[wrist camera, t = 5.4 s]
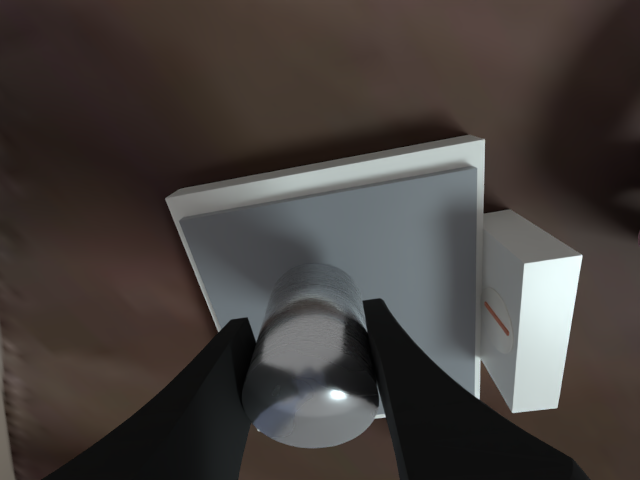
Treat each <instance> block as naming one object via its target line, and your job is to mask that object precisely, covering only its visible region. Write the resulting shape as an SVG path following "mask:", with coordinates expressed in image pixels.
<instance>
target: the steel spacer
mask: <svg viewBox="0 0 640 480" xmlns="http://www.w3.org/2000/svg"><path fill="white" fill-rule="evenodd" d="M362 301H363V300H362V295H361V291H360V289H359V287H358V285H357V283H356V282H355V281H354V279H353V278H352V277H351V276H350V275H349V274H347V273H346V272H344V271H343V270H341V269H339V268H337V267H335V266H332V265H329V264H324V263H307V264H302V265H299V266H296V267H294V268H292V269H290V270H288V271H287V272H285V273H284V274H283V275H282V276H281V277H280V278H279V279H278V280H277V281H276V283H275V285H274V287H273V289H272V292H271V295H270V298H269V302H268V305H267V308H266V312H265V315H264V319H263V322H262V325H261V329H260V332H259V335H258V339H257V342H256V345H255V349H254V352H253V355H252V359H251V362H250V366H249V369H248V372H247V376H246V379H245V382H244V386H243V390H242V403H243V407H244V410H245V413H246V415H247V416H248V418H249V420H250V421H251V422H252V424H253V425H254V426H255V427H256V428H257V429H259V430H260V431H261V432H262V433H264V434H265V435H267V436H268V437H270V438H272V439H274V440H276V441H278V442H281V443H284V444H287V445H291V446H296V447H302V448H325V447H331V446H335V445H339V444H342V443H345V442H347V441H350V440H352V439H353V438H355V437H357V436H358V435H360V434H361V433H362V432H364V431H365V430H366V429H367V428H368V427H369V426H370V424H371V423H372V422H373V420H374V419H375V416H376V414H377V411H378V407H379V394H378V388H377V382H376V376H375V370H374V364H373V360H372V356H371V351H370V345H369V339H368V333H367V327H366V320H365V314H364V308H363V302H362Z"/></svg>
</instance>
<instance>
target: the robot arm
mask: <svg viewBox="0 0 640 480" xmlns="http://www.w3.org/2000/svg"><path fill="white" fill-rule="evenodd" d="M362 302H363V308H364V314H365V320H366V327H367V333H368V339H369V345H370V351H371V356H372V360H373V364H374V370H375V376H376V382H377V386H378V390H379V394H380V397H381V401H382V405H383V408H384V412H385V416H386V420H387V423H388V427H389V431H390V435H391V438H392V442H393V447H394V451H395V455H396V461H397V466H398V472H399V477H400V480H590V479H589V477H588V476H587V475H586V474H585V473H584V471H583V470H582V469H581V468H580V467H579V465H578V464H577V463H576V462H575V461H574V460H573V459H572V458H571V457H569V456H567V455H565V454H564V453H562V452H560V451H558V450H557V449H555V448H553V447H552V446H550V445H548V444H546V443H545V442H543V441H541V440H539V439H538V438H536V437H534V436H532V435H531V434H529V433H527V432H526V431H524V430H523V429H521V428H519V427H518V426H516V425H515V424H513V423H512V422H510V421H509V420H507V419H506V418H504V417H503V416H501V415H500V414H498V413H497V412H496V411H494V410H493V409H492V408H490V407H489V406H487V405H486V404H485V403H483V402H482V401H481V400H479V399H478V398H476V397H475V396H474V395H472V394H471V393H470V392H468V391H467V390H466V389H465V388H463V387H462V386H461V385H460V384H458V383H457V382H456V381H455V380H454V379H452V378H451V377H450V376H449V375H448V374H447V373H446V372H444V371H443V370H442V369H441V368H440V367H439V366H438V365H437V364H436V363H435V362H434V361H432V360H431V359H430V358H429V357H428V356H427V355H426V354H425V352H424V351H423V350H422V349H421V348H420V347H419V346H418V345H417V344H416V343H415V342H414V341H413V340H412V339H411V337H410V336H409V335H408V334H407V333H406V331H405V330H404V329H403V328H402V327H401V325H400V324H399V323H398V322H397V320H396V319H395V318H394V316H393V315H392V313H391V312H390V310H389V309H388V307H387V306H386V304H385V302H384V300H382V299H381V298H377V299H370V300H363V301H362ZM255 345H256V340H255V337H254V334H253V331H252V328H251V325H250V323H249V320H248V317H245V318H238V319H231V320H230V321H229V322H228V323H227V324H226V325H225V326H224V327H223V328H222V329H221V330H220V331H219V332H218V334H217V335H216V336H215V337H214V338H213V339H212V340H211V341H210V342H209V343H208V344H207V345H206V346H205V348H204V349H203V350H202V351H201V352H200V353H199V354H198V355H197V356H196V357H195V358H194V359H193V360H192V361H191V362H190V363H189V364H188V365H187V366H186V367H185V368H184V369H183V370H182V371H181V372H180V373H179V374H178V375H177V376H176V377H175V378H174V379H173V380H172V381H171V382H170V383H169V384H168V385H167V386H166V387H165V388H164V389H163V390H162V391H160V392H159V393H158V394H157V395H156V396H155V397H154V398H153V399H151V400H150V401H149V402H148V403H147V404H146V405H144V406H143V407H142V408H141V409H140V410H138V411H137V412H136V413H135V414H134V415H132V416H131V417H130V418H129V419H127V420H126V421H125V422H123V423H122V424H121V425H119V426H118V427H117V428H115V429H114V430H113V431H111V432H110V433H109V434H108V435H106V436H105V437H104V438H102V439H101V440H100V441H98V442H97V443H95V444H94V445H93V446H91V447H90V448H88V449H87V450H85V451H84V452H83V453H81V454H80V455H78V456H77V457H75V458H74V459H72V460H71V461H69V462H68V463H66V464H65V465H63V466H62V467H60V468H59V469H57V470H56V471H54V472H53V473H51V474H49V475H48V476H46V477H45V478H43V479H42V480H238V477H239V471H240V466H241V461H242V457H243V452H244V448H245V444H246V440H247V436H248V432H249V429H250V425H251V421H250V420H249V418H248V416H247V415H246V413H245V410H244V407H243V403H242V390H243V386H244V382H245V379H246V376H247V372H248V369H249V366H250V362H251V359H252V355H253V352H254V349H255Z"/></svg>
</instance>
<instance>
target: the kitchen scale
mask: <svg viewBox="0 0 640 480" xmlns="http://www.w3.org/2000/svg"><path fill="white" fill-rule="evenodd" d="M484 159H485V139H482V138H479V137H475V136H472V135H465V136H459V137H454V138H449V139H443V140H438V141H433V142H427V143H422V144H417V145H411V146H406V147H401V148H395V149H390V150H385V151H379V152H374V153H369V154H363V155H358V156H353V157H347V158H342V159H336V160H331V161H326V162H320V163H315V164H310V165H304V166H299V167H294V168H288V169H283V170H278V171H272V172H267V173H262V174H256V175H251V176H246V177H240V178H235V179H229V180H224V181H219V182H213V183H208V184H203V185H197V186H192V187H187V188H181V189H179V190H177V191H175V192H174V193H172V194H171V195H169V196H168V197H166V198H165V200H166V203H167V205H168V208H169V210H170V213H171V215H172V218H173V220H174V223H175V225H176V228H177V230H178V233H179V235H180V238H181V240H182V243H183V245H184V248H185V250H186V252H187V255H188V257H189V260H190V262H191V265H192V267H193V270H194V272H195V275H196V277H197V280H198V282H199V285H200V287H201V290H202V292H203V295H204V297H205V300H206V302H207V305H208V307H209V310H210V312H211V315H212V317H213V320H214V322H215V325H216V327H217V330H218V332H219V331H220V330H221V329H222V328H223V327H224V326H225V325H226V324H227V323H228V322H229V321H230V320H231V319H238V318H245V317H248V320H249V323H250V325H251V328H252V331H253V334H254V337H255V340H256V342H257V339H258V335H259V332H260V329H261V325H262V322H263V319H264V315H265V312H266V308H267V305H268V302H269V298H270V295H271V292H272V289H273V287H274V285H275V283H276V281H277V280H278V279H279V278H280V277H281V276H282V275H283V274H284V273H285V272H287V271H288V270H290V269H292V268H294V267H296V266H299V265H302V264H307V263H324V264H329V265H332V266H335V267H337V268H339V269H341V270H343V271H344V272H346V273H347V274H349V275H350V276H351V277H352V278H353V279H354V281H355V282H356V283H357V285H358V287H359V289H360V291H361V295H362V300H370V299H377V298H381V299H382V300H384V302H385V304H386V306H387V307H388V309H389V310H390V312H391V313H392V315H393V316H394V318H395V319H396V320H397V322H398V323H399V324H400V325H401V327H402V328H403V329H404V330H405V331H406V333H407V334H408V335H409V336H410V337H411V339H412V340H413V341H414V342H415V343H416V344H417V345H418V346H419V347H420V348H421V349H422V350H423V351H424V352H425V354H426V355H427V356H428V357H429V358H430V359H431V360H432V361H434V362H435V363H436V364H437V365H438V366H439V367H440V368H441V369H442V370H443V371H444V372H446V373H447V374H448V375H449V376H450V377H451V378H452V379H454V380H455V381H456V382H457V383H458V384H460V385H461V386H462V387H463V388H465V389H466V390H467V391H468V392H470V393H471V394H472V395H474V396H475V397H476V398H478V399H479V400H480V358H481V360H482V362H483V363H484V365H485V367H486V369H487V370H488V372H489V374H490V376H491V377H492V379H493V381H494V382H495V384H496V386H497V388H498V389H499V391H500V393H501V395H502V396H503V398H504V400H505V401H506V403H507V405H508V407H509V408H510V410H511V412H512V413H516V412H525V411H535V410H544V409H553V408H558V402H559V395H560V389H561V383H562V377H563V371H564V365H565V359H566V353H567V346H568V340H569V334H570V328H571V322H572V316H573V310H574V304H575V298H576V291H577V285H578V279H579V273H580V267H581V261H582V254H580V253H578V252H577V251H575V250H574V249H572V248H571V247H569V246H567V245H566V244H564V243H563V242H561V241H559V240H558V239H556V238H555V237H553V236H552V235H550V234H548V233H547V232H545V231H544V230H542V229H540V228H539V227H537V226H536V225H534V224H533V223H531V222H529V221H528V220H526V219H525V218H523V217H522V216H520V215H518V214H517V213H515V212H514V211H512V210H510V209H509V210H503V211H497V212H491V213H485V214H483V208H484ZM377 388H378V386H377ZM378 394H379V390H378ZM385 417H386V416H385V412H384V408H383V405H382V401H381V397H380V394H379V407H378V411H377V414H376V416H375V418H385ZM257 430H258V431H260V430H259V429H257Z"/></svg>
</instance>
